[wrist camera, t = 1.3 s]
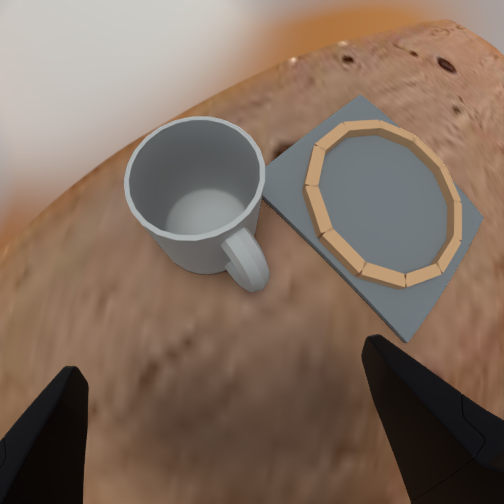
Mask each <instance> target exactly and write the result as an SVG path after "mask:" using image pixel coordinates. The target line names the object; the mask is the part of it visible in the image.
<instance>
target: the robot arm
mask: <svg viewBox="0 0 504 504" xmlns="http://www.w3.org/2000/svg"><path fill="white" fill-rule="evenodd" d="M361 357H362V362H363V366H364V369H365V373H366V376H367V380H368V384H369V387H370V391H371V395H372V398H373V401H374V404H375V407H376V409H377V412H378V414H379V417H380V419H381V422H382V424H383V427H384V429H385V432H386V435H387V437H388V440H389V443H390V445H391V448H392V451H393V453H394V456H395V459H396V461H397V464H398V467H399V470H400V472H401V475H402V478H403V481H404V484H405V487H406V490H407V492H408V495H409V498H410V501H411V504H504V420H502V419H501V418H499V417H497V416H495V415H494V414H492V413H490V412H489V411H487V410H485V409H484V408H482V407H481V406H479V405H478V404H476V403H475V402H473V401H472V400H470V399H469V398H468V397H466V396H465V395H464V394H461V392H459V391H458V390H457V389H455V388H454V387H452V386H451V385H450V384H448V383H447V382H445V381H444V380H443V379H441V378H440V377H439V376H437V375H436V374H434V373H433V372H432V371H430V370H429V369H427V368H426V367H425V366H423V365H422V364H421V363H419V362H418V361H416V360H415V359H414V358H412V357H411V356H409V355H408V354H407V353H405V352H404V351H402V350H401V349H400V348H398V347H397V346H395V345H394V344H393V343H391V342H390V341H389V340H387V339H386V338H384V337H383V336H381V335H379V334H376V335H372V336H368V337H367V338H366V340H365V344H364V347H363V350H362V355H361ZM88 391H89V387H88V383H87V380H86V379H85V378H84V376H83V375H82V373H81V371H80V370H79V369H78V367H76V366H65V367H64V368H63V369H62V370H61V371H60V372H59V373H58V374H57V375H56V377H55V378H54V379H53V380H52V381H51V382H50V383H49V384H48V385H47V387H46V388H45V389H44V390H43V391H42V392H41V393H40V395H39V396H38V397H37V398H36V399H35V400H34V401H33V403H32V404H31V405H30V406H29V407H28V408H27V410H26V411H25V412H24V413H23V414H22V415H21V417H20V418H19V419H18V420H17V421H16V423H15V424H14V425H13V426H12V427H11V429H10V430H9V431H8V432H7V433H6V435H5V436H4V437H3V438H2V439H1V441H0V504H83V482H84V464H85V451H86V440H87V429H88Z"/></svg>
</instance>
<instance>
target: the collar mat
mask: <svg viewBox="0 0 504 504" xmlns="http://www.w3.org/2000/svg"><path fill="white" fill-rule="evenodd" d="M443 165H444V163H443V162H442V161H441V160H440V159H439V157H438V156H437V155H436V154H435V153H434V152H433V151H432V150H431V149H430V148H429V147H428V146H427V145H426V144H425V143H424V142H423V141H421V140H420V139H419V138H418V137H417V136H416V137H415V134H412V133H410V132H408V131H406V130H403V129H401V128H400V127H399V126H398V125H396V124H395V123H394V122H393V121H392V120H391V119H390V118H388V117H387V116H386V115H385V114H384V113H383V112H381V111H380V110H379V109H378V108H377V107H375V106H374V105H373V104H372V103H370V102H369V101H368V100H367V99H365V98H364V97H363V96H362V95H359V96H358V97H356V98H355V99H354V100H352V101H351V102H349V103H348V104H347V105H345V106H344V107H343V108H341V109H340V110H338V111H337V112H336V113H334V114H333V115H332V116H330V117H329V118H328V119H326V120H325V121H324V122H322V123H321V124H320V125H318V126H317V127H316V128H314V129H313V130H312V131H311V132H309V133H308V134H307V135H305V136H304V137H303V138H301V139H300V140H299V141H298V142H296V143H295V144H294V145H292V146H291V147H290V148H289V149H287V150H286V151H285V152H283V153H282V154H281V155H280V156H278V157H277V158H276V159H275V160H273V161H272V162H271V163H270V164H268V165H267V166H266V167H265V184H264V189H263V195H262V199H263V200H264V201H265V202H266V203H267V204H269V205H270V206H271V207H272V208H273V209H274V210H275V211H276V212H277V213H278V214H279V215H280V216H281V217H282V218H283V219H284V220H285V221H286V222H287V223H288V224H289V225H290V226H291V227H292V228H293V229H294V230H295V231H296V232H297V233H298V234H300V235H301V236H302V237H303V238H304V239H305V240H306V241H307V242H308V243H309V244H310V245H311V246H312V247H313V248H314V249H315V250H316V251H317V252H318V253H319V254H320V255H321V256H322V257H323V258H324V259H325V260H326V261H327V262H328V263H329V264H330V265H331V266H332V267H333V268H334V269H335V270H336V272H337V273H338V274H339V275H340V276H341V277H342V278H343V279H344V280H345V281H346V282H347V283H348V284H349V285H350V286H351V287H352V288H353V289H354V290H355V291H356V292H357V293H358V294H359V295H360V296H361V297H362V298H363V299H364V301H365V302H366V303H367V304H368V305H369V306H370V307H371V308H372V309H373V310H374V311H375V312H376V313H377V314H378V315H379V316H380V317H381V319H382V320H383V321H384V322H385V323H386V324H387V325H388V326H389V327H390V328H391V329H392V330H393V331H394V333H395V334H396V335H397V336H398V337H399V338H400V339H401V340H402V341H403V342H404V343H408V341H409V340H410V339H411V337H412V336H413V335H414V333H415V332H416V331H417V329H418V328H419V326H420V325H421V324H422V322H423V321H424V319H425V318H426V316H427V315H428V313H429V312H430V311H431V309H432V308H433V306H434V305H435V303H436V301H437V300H438V298H439V297H440V295H441V294H442V292H443V291H444V289H445V287H446V286H447V284H448V282H449V281H450V279H451V277H452V276H453V274H454V272H455V271H456V269H457V267H458V266H459V264H460V262H461V260H462V258H463V257H464V255H465V253H466V251H467V249H468V248H469V246H470V244H471V242H472V240H473V238H474V236H475V234H476V232H477V230H478V228H479V226H480V224H481V222H482V220H483V218H484V217H483V216H482V215H481V214H480V212H479V211H478V210H477V209H476V207H475V206H474V205H473V204H472V202H471V201H470V200H469V199H468V198H467V196H466V195H465V194H464V193H463V192H462V191H461V189H460V188H459V187H458V186H457V185H456V184H455V183H454V181H453V180H452V178H451V176H450V174H449V172H448V170H447V167H446V165H444V166H443Z"/></svg>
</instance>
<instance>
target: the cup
mask: <svg viewBox="0 0 504 504" xmlns="http://www.w3.org/2000/svg"><path fill="white" fill-rule="evenodd" d="M264 184H265V163H264V160H263V157H262V154H261V151H260V149H259V147H258V146H257V144H256V143H255V142H254V140H253V139H252V137H251V136H250V135H248V134H247V133H246V132H245V131H244V130H242V129H241V128H240V127H238V126H236V125H234V124H232V123H230V122H228V121H226V120H223V119H218V118H213V117H188V118H183V119H179V120H175V121H172V122H170V123H168V124H166V125H163V126H161V127H159V128H158V129H156V130H155V131H154V132H152V133H151V134H150V135H148V136H147V137H146V138H145V139H144V140H143V141H142V142H141V144H140V145H139V146H138V147H137V148H136V149H135V151H134V153H133V155H132V157H131V159H130V161H129V163H128V165H127V169H126V174H125V178H124V187H125V197H126V200H127V202H128V205H129V207H130V210H131V212H132V213H133V214H134V216H135V217H136V218H137V219H138V221H139V222H140V223H141V224H142V225H143V227H144V228H145V229H146V230H147V231H148V233H149V234H150V235H151V236H152V237H153V239H154V240H155V241H156V242H157V243H158V245H159V246H160V247H161V248H162V249H163V250H164V252H165V253H166V254H167V255H168V256H169V257H170V258H171V260H172V261H173V262H174V263H176V264H177V265H179V266H180V267H182V268H184V269H185V270H187V271H191V272H194V273H197V274H214V273H218V272H223V271H225V270H227V271H228V272H229V274H230V275H231V276H232V278H233V279H234V280H235V281H236V282H237V283H238V284H239V285H240V286H241V287H243V288H244V289H246V290H247V291H249V292H256V291H260V290H263V289H264V287H265V285H266V284H267V282H268V280H269V278H270V272H269V269H268V265H267V262H266V259H265V256H264V253H263V251H262V249H261V247H260V246H259V244H258V243H257V241H256V239H255V238H254V235H255V231H256V226H257V221H258V215H259V210H260V205H261V200H262V195H263V189H264Z"/></svg>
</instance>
